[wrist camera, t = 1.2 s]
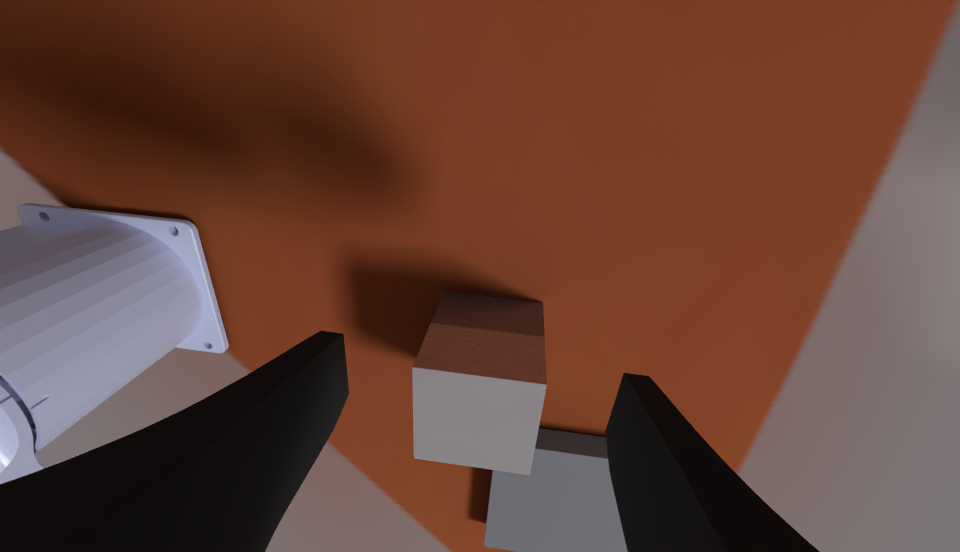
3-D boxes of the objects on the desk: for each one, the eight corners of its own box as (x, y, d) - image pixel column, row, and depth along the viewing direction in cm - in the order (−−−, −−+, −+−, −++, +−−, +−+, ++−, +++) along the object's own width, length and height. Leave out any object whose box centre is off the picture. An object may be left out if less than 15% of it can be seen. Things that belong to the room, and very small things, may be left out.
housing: (442, 367, 23) (414, 458, 17) (443, 290, 20) (412, 367, 15) (530, 379, 22) (530, 475, 17) (542, 301, 20) (546, 384, 15)
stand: (486, 524, 28) (483, 546, 27) (498, 422, 24) (496, 443, 22) (629, 547, 28) (634, 570, 26) (670, 446, 23) (679, 468, 22)
